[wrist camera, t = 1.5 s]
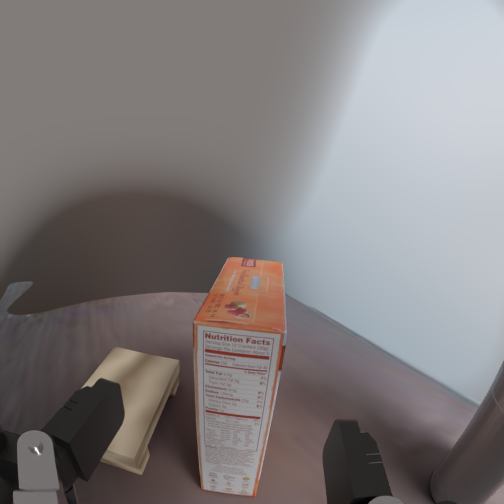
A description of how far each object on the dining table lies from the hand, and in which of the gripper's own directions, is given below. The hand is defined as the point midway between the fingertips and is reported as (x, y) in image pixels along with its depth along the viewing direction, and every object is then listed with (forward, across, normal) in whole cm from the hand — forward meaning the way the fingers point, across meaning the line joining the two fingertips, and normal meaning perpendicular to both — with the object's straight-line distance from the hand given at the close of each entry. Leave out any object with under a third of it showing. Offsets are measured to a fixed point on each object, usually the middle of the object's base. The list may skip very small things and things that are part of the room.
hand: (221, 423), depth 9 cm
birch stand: (+17, +14, +20) cm, 30 cm away
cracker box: (+15, 0, +20) cm, 25 cm away
